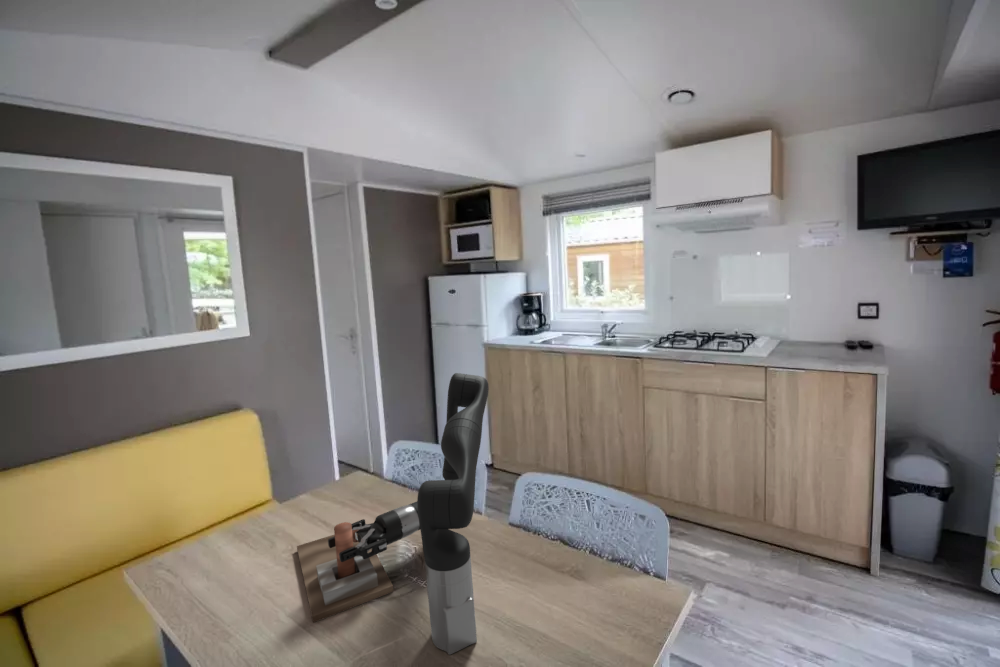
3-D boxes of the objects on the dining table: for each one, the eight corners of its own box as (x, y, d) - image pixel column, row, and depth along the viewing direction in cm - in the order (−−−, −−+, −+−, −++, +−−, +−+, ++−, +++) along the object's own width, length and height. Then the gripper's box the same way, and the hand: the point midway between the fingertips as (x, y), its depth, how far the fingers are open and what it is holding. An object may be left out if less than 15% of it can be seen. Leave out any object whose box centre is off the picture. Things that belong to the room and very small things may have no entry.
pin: (357, 582, 113) (353, 528, 112) (340, 588, 112) (335, 533, 110) (354, 573, 117) (349, 520, 115) (337, 579, 115) (332, 525, 113)
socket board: (393, 591, 112) (391, 574, 111) (313, 622, 103) (310, 603, 102) (362, 530, 139) (361, 516, 139) (297, 551, 131) (295, 536, 130)
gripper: (383, 501, 127) (322, 524, 117) (409, 520, 116) (343, 548, 105) (386, 526, 128) (325, 552, 118) (412, 549, 117) (347, 579, 106)
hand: (334, 550), depth 112 cm, fingers open, 7 cm apart
